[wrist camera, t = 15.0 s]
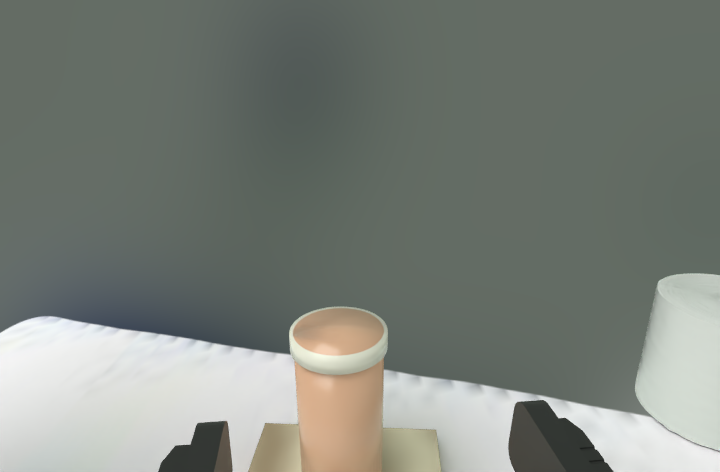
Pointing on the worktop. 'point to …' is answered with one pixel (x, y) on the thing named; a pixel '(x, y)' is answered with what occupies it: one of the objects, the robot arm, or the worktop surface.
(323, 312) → the terracotta jar
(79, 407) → the worktop surface
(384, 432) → the birch board
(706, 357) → the toilet tissue
